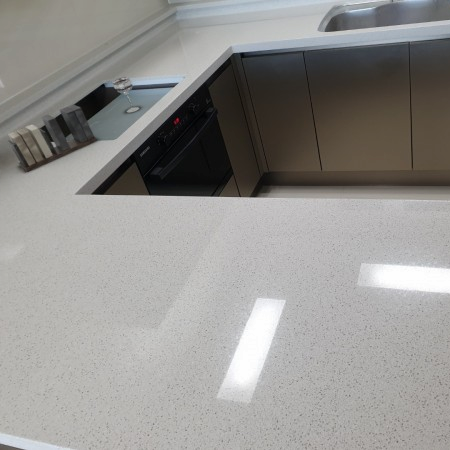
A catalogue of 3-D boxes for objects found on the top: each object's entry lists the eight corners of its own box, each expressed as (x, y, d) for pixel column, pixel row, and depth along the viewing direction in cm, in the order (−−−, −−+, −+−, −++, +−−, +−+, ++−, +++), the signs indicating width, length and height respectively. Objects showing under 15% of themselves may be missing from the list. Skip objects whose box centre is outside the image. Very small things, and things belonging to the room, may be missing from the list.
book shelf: (27, 171, 149) (7, 137, 142) (20, 165, 154) (0, 132, 147) (97, 140, 161) (81, 107, 154) (88, 136, 166) (72, 103, 159)
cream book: (46, 158, 152) (31, 130, 146) (40, 154, 156) (25, 126, 151) (53, 155, 153) (38, 127, 147) (46, 151, 157) (32, 124, 152)
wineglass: (131, 106, 185) (119, 77, 178) (144, 106, 182) (133, 76, 175) (120, 113, 180) (108, 83, 173) (134, 113, 178) (122, 83, 171)
